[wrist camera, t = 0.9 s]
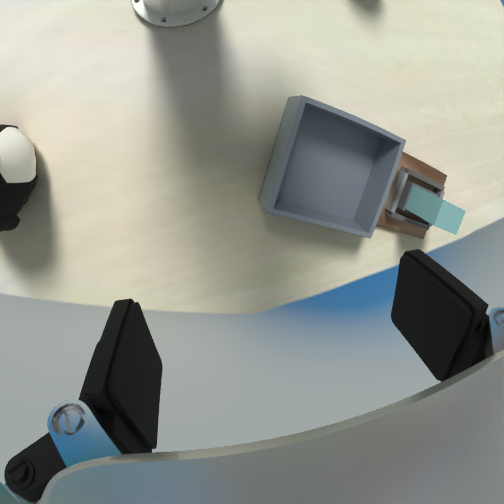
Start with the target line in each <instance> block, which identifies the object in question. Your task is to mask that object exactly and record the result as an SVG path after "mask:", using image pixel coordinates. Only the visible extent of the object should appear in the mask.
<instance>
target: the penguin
mask: <svg viewBox="0 0 504 504" xmlns="http://www.w3.org/2000/svg"><path fill="white" fill-rule="evenodd" d="M37 177H38V175H37V174H36V157H35V152H34V146H33V144H32V143H31V141H30V140H29V138H28V137H27V135H26V134H24V133H23V132H21V131H20V130H18V127H16V126H11V125H0V232H1V231H9V230H13V229H14V228H16V227H17V226H18V224H19V222H20V219H19V217H18V216H17V214H18V212H19V211H20V210H21V208H22V207H23V205H24V204H25V203H26V202H27V200H28V198H29V196H30V194H31V193H32V191H33V189H34V187H35V184H36V181H37Z"/></svg>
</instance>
